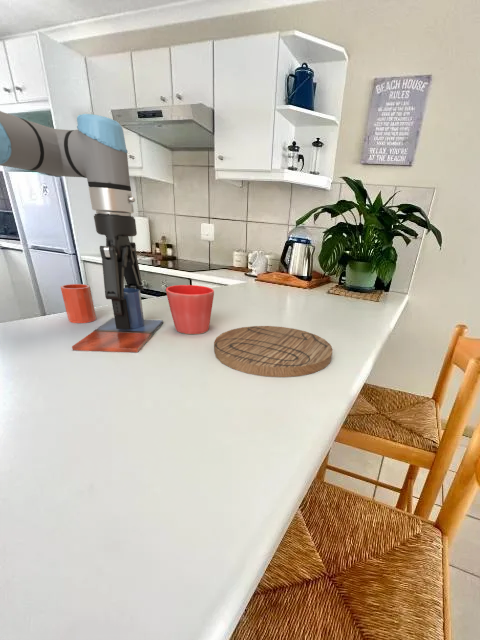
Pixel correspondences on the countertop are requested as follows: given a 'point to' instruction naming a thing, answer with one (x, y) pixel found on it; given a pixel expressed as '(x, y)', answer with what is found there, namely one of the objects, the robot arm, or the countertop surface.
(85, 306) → the red cup
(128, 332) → the board
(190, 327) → the flower pot
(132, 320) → the blue cup
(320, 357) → the trivet
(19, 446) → the countertop surface
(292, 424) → the countertop surface
